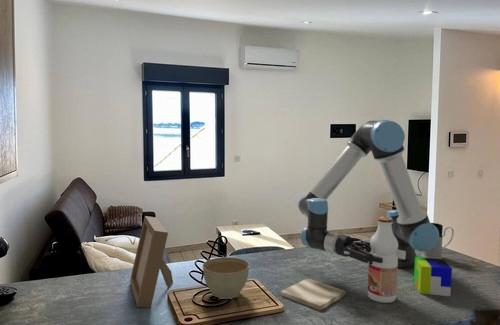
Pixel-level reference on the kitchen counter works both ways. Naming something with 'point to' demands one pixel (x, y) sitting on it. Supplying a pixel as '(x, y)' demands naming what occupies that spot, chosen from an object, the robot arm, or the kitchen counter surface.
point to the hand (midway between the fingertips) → (399, 259)
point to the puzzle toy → (432, 276)
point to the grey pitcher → (437, 244)
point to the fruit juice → (379, 275)
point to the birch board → (313, 294)
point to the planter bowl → (226, 276)
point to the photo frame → (149, 262)
